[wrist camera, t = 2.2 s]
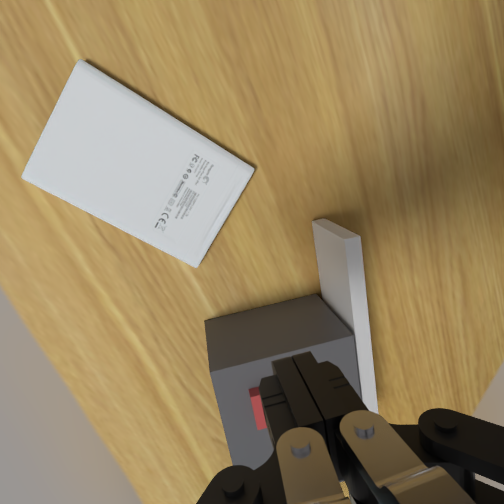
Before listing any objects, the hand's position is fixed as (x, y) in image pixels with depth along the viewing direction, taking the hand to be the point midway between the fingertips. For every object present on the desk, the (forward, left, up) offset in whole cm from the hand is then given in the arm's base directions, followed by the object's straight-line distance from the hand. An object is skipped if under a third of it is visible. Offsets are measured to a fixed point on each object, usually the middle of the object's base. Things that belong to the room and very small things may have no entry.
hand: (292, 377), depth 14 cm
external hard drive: (-8, -5, -16) cm, 18 cm away
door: (+7, +7, -14) cm, 17 cm away
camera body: (+11, +1, -15) cm, 18 cm away
